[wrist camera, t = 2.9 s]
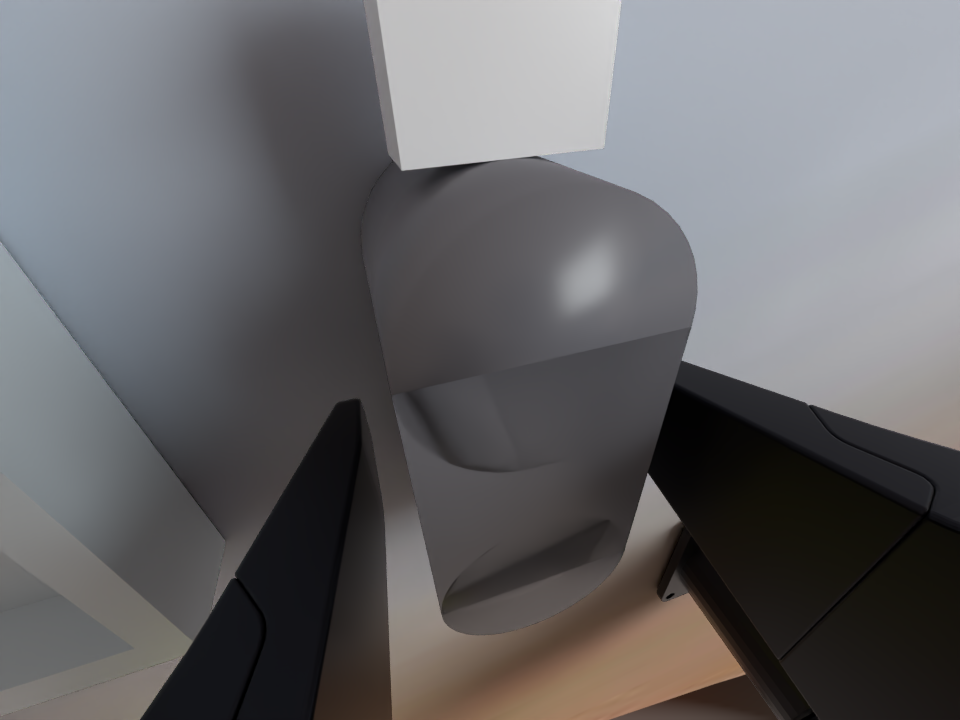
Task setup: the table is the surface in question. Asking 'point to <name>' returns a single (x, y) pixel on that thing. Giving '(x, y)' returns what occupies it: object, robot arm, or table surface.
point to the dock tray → (85, 520)
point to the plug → (517, 300)
